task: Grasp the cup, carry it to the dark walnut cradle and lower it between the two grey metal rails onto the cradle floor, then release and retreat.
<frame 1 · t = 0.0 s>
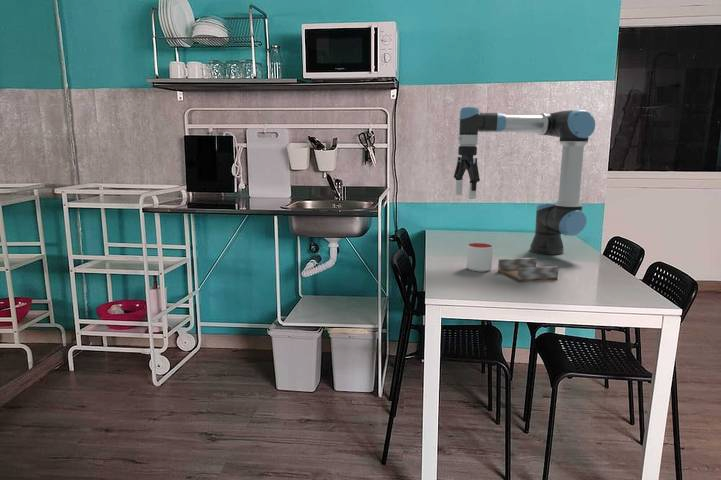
hand: (465, 197, 225), 28 cm above the table, fingers open, 13 cm apart
cradle: (526, 275, 208), on the table
cup: (478, 269, 218), on the table
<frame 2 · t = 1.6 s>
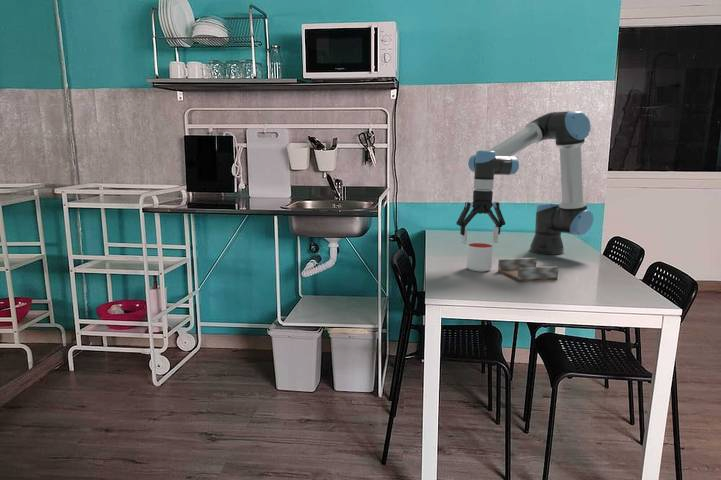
hand: (479, 242, 215), 11 cm above the table, fingers open, 13 cm apart
nothing on the table moved.
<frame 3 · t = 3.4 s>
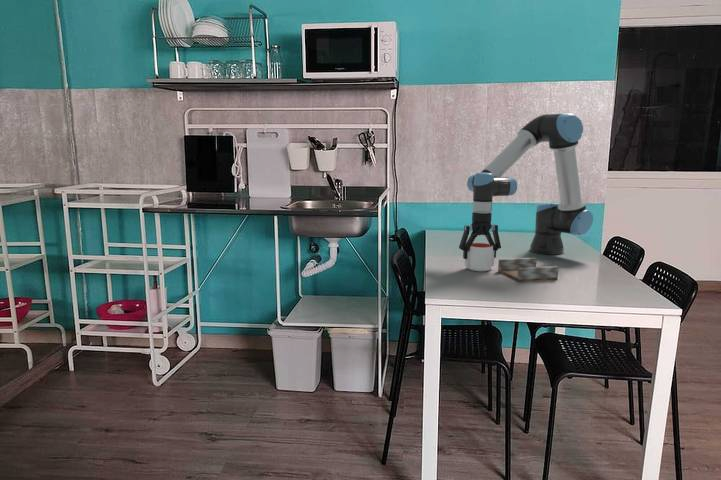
hand: (479, 266, 217), 1 cm above the table, fingers closed on cup, 10 cm apart
cup: (478, 269, 218), on the table, touching gripper
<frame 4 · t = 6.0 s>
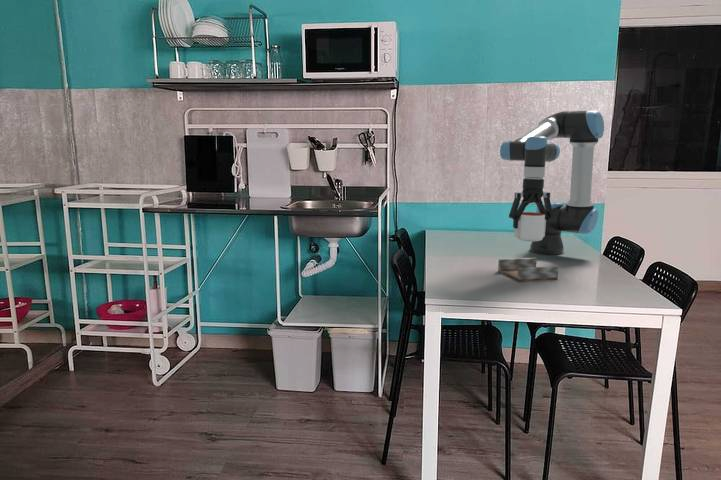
hand: (529, 236, 206), 15 cm above the table, fingers closed on cup, 10 cm apart
cup: (529, 240, 206), point 14 cm above the table, touching gripper
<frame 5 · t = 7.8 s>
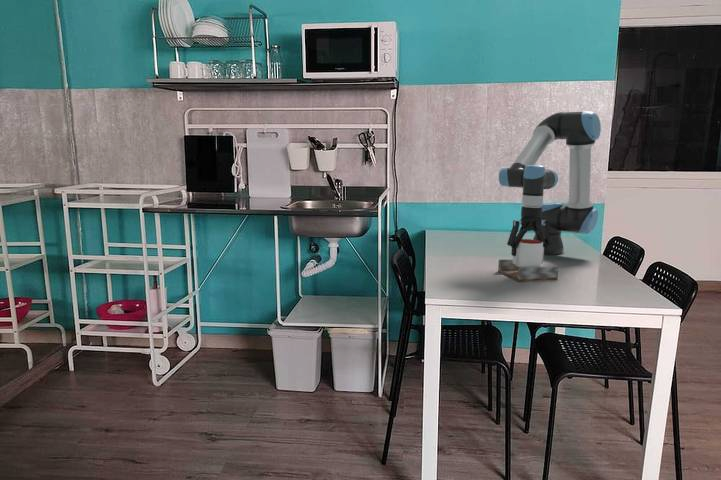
hand: (527, 263, 207), 5 cm above the table, fingers closed on cup, 10 cm apart
cup: (527, 267, 208), point 3 cm above the table, touching gripper
when the fingers open (4 cm above the table, at t = 9.0 s): cup drops 1 cm, resting on cradle.
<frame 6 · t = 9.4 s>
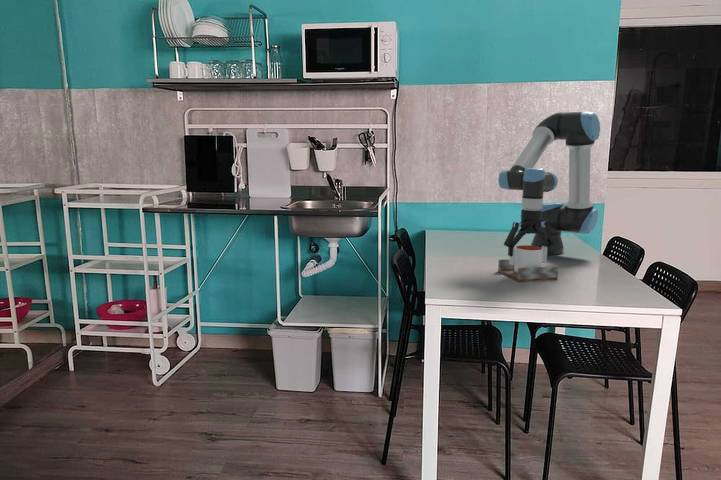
hand: (527, 263, 208), 5 cm above the table, fingers open, 13 cm apart
cup: (527, 273, 208), point 1 cm above the table, touching cradle
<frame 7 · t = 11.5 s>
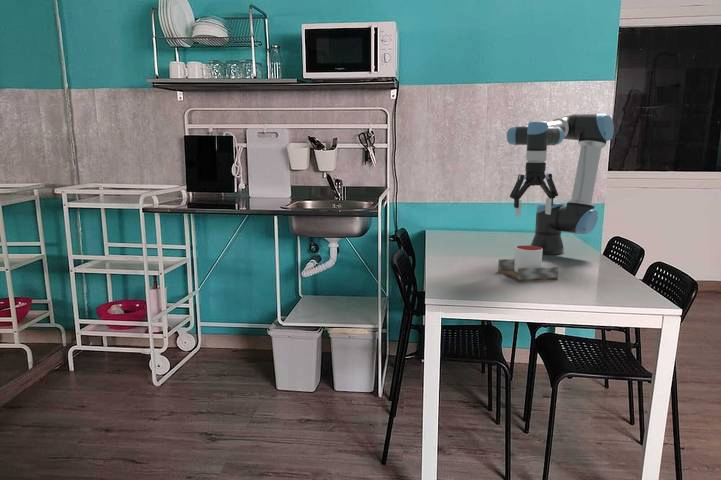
hand: (533, 215, 215), 22 cm above the table, fingers open, 13 cm apart
nothing on the table moved.
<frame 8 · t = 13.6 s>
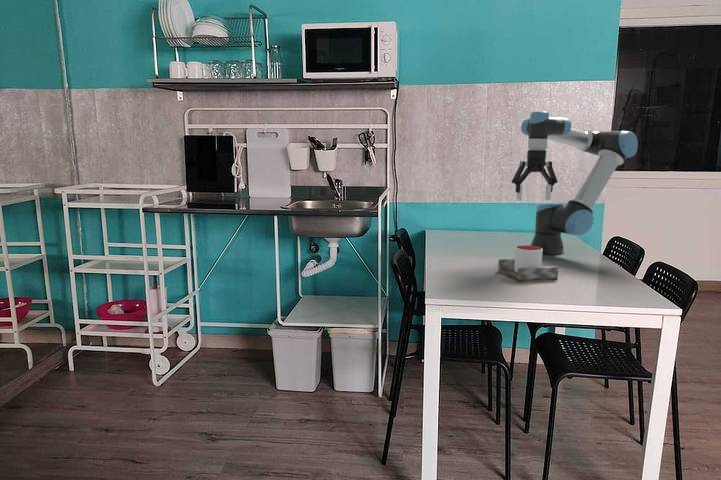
hand: (533, 200, 228), 27 cm above the table, fingers open, 13 cm apart
nothing on the table moved.
at the end: cup 0.1 cm from the cradle (horizontally); cup tilted 0°; the gripper is holding nothing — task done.
